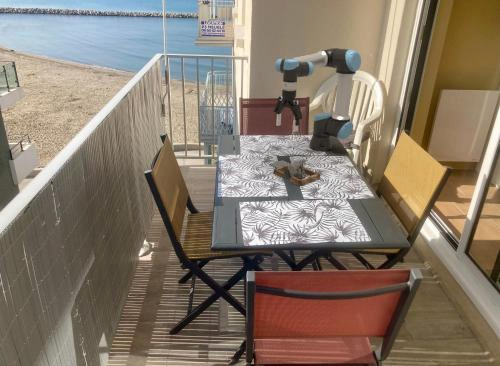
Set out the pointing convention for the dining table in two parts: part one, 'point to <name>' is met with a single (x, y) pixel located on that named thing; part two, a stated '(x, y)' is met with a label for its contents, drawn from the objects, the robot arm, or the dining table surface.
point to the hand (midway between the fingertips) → (286, 128)
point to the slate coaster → (279, 164)
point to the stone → (297, 170)
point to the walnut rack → (312, 178)
